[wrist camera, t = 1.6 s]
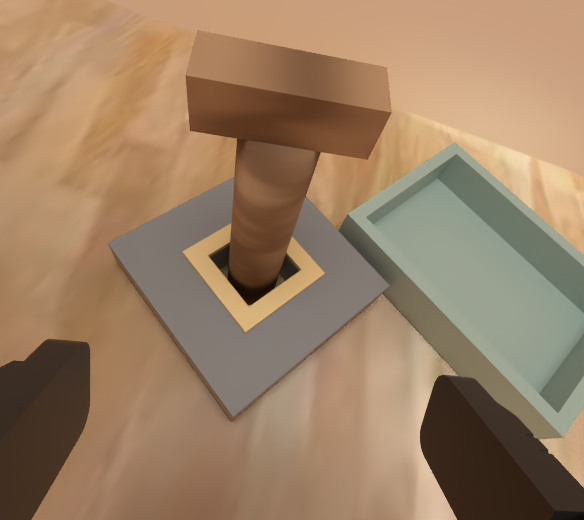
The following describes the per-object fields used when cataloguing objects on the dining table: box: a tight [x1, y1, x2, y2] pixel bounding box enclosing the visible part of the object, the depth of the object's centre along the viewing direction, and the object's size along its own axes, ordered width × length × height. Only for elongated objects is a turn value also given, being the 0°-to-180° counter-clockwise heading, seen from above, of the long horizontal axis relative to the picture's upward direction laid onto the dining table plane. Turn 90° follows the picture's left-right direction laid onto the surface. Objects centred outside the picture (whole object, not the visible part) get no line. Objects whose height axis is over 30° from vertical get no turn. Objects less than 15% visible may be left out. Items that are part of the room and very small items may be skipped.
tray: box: [339, 142, 584, 439], centre depth 31 cm, size 20×14×4 cm
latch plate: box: [108, 177, 390, 421], centre depth 28 cm, size 14×14×3 cm
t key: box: [186, 30, 392, 305], centre depth 22 cm, size 7×4×18 cm, turn 88°
